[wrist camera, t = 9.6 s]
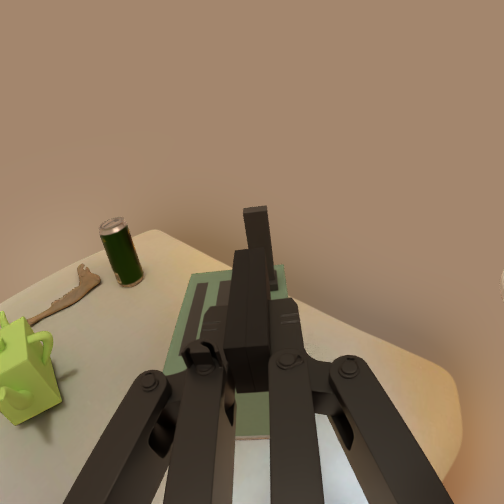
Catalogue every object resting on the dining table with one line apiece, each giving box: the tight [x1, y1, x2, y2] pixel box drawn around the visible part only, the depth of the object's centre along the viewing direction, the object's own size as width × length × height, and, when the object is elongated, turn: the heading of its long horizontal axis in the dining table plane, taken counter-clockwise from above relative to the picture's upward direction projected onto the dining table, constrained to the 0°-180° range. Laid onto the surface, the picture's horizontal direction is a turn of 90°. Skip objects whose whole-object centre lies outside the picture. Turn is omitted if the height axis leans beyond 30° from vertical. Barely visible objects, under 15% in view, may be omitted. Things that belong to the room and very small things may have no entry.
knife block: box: [163, 265, 288, 440], centre depth 29 cm, size 10×14×11 cm
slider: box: [243, 206, 278, 291], centre depth 28 cm, size 2×2×8 cm
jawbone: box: [27, 264, 101, 325], centre depth 51 cm, size 9×20×2 cm, turn 165°
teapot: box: [0, 311, 62, 426], centre depth 28 cm, size 15×13×11 cm
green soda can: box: [99, 217, 143, 287], centre depth 52 cm, size 5×5×12 cm
